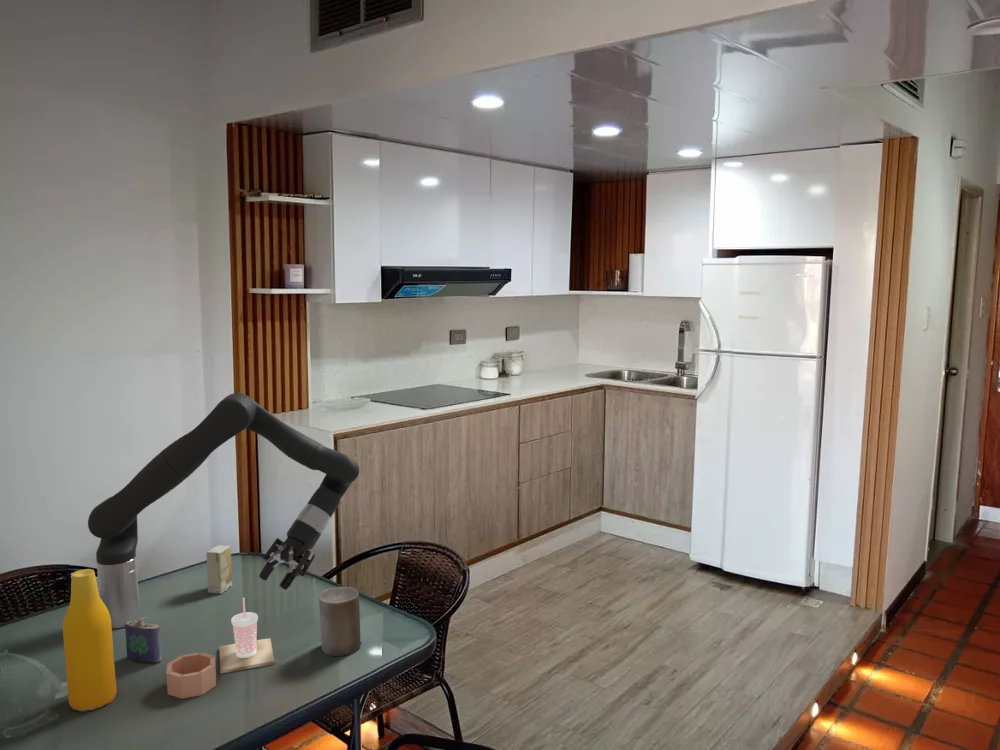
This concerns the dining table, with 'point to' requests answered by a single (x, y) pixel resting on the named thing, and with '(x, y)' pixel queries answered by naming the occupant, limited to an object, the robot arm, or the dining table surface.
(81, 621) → the beer bottle
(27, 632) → the dining table surface
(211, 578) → the skincare box
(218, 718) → the dining table surface
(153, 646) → the flask
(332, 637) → the pillar candle
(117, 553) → the robot arm
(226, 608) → the dining table surface
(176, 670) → the ceramic ring
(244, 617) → the beverage cup
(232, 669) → the wooden coaster
